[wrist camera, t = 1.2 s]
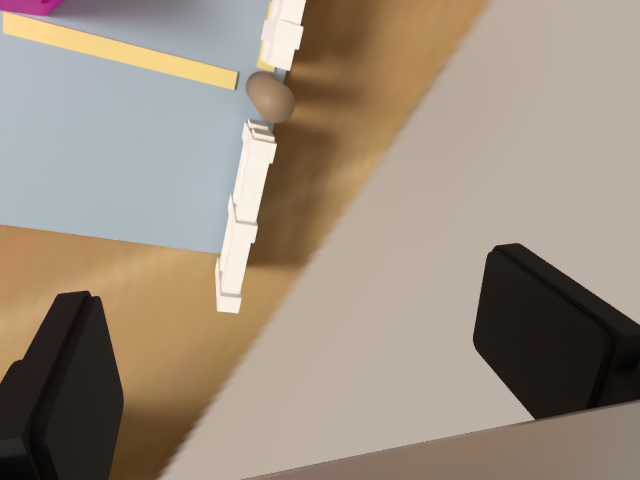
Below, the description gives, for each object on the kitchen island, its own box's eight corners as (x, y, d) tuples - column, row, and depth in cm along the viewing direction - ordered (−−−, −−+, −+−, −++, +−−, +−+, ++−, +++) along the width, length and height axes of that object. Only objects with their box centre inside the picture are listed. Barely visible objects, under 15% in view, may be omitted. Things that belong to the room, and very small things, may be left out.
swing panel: (245, 116, 27) (254, 134, 22) (265, 120, 27) (278, 139, 23) (215, 269, 30) (217, 311, 26) (233, 271, 31) (238, 313, 26)
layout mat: (244, 255, 31) (244, 258, 31) (-65, 212, 26) (-69, 215, 25) (300, 0, 26) (302, 0, 25) (-81, -122, 20) (-87, -125, 20)
